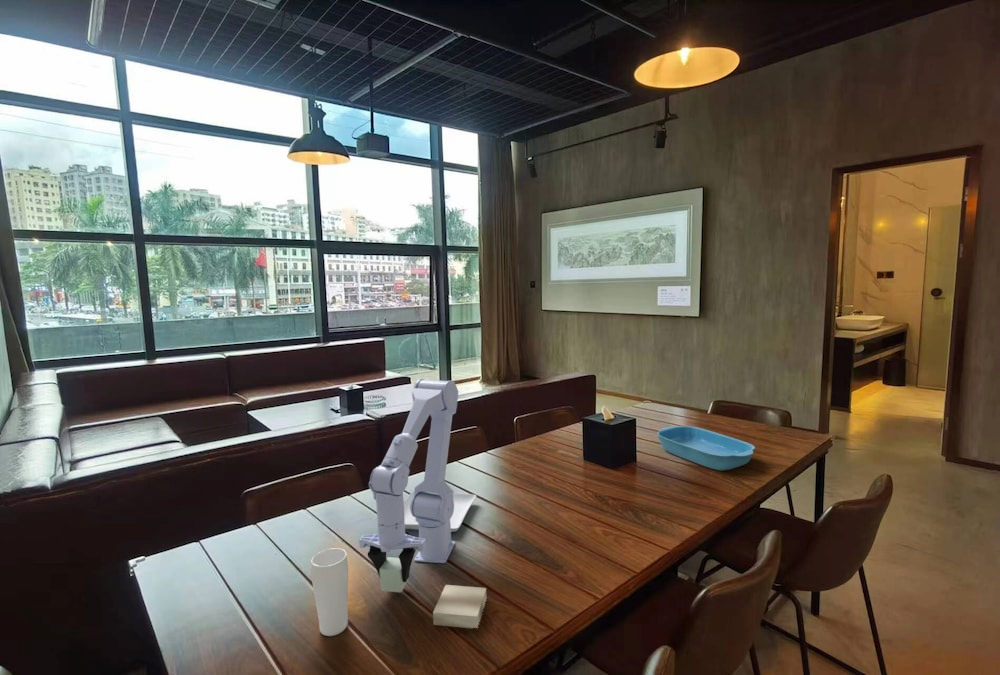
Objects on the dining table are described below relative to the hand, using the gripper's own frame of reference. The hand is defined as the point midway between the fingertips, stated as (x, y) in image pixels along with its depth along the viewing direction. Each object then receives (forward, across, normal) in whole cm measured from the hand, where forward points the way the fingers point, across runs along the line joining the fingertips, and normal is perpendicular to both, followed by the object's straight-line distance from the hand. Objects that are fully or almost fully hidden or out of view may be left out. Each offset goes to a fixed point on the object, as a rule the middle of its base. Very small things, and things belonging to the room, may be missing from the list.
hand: (394, 578), depth 105 cm
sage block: (+2, 0, 0) cm, 2 cm away
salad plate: (+4, -2, +35) cm, 35 cm away
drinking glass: (+3, -8, -12) cm, 15 cm away
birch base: (+4, +16, -4) cm, 17 cm away
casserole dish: (+4, +86, +93) cm, 127 cm away
